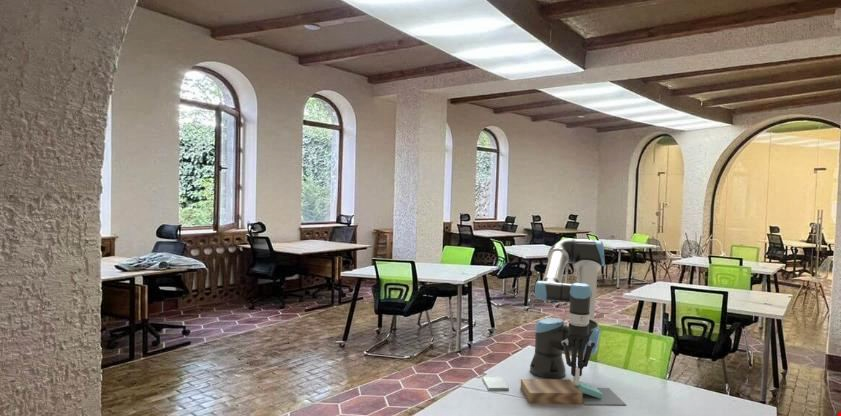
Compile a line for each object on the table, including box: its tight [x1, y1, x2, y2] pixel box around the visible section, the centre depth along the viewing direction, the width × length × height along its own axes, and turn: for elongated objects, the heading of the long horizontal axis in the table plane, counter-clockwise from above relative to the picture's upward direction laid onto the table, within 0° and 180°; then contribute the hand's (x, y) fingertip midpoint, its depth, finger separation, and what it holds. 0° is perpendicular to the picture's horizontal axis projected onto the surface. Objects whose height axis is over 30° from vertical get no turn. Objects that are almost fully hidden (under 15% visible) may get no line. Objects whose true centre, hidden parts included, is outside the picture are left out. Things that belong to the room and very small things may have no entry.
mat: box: [582, 387, 627, 406], centre depth 207 cm, size 16×16×1 cm
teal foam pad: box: [574, 381, 603, 399], centre depth 206 cm, size 9×6×2 cm, turn 93°
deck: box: [519, 378, 583, 405], centre depth 205 cm, size 20×14×4 cm
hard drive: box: [481, 376, 510, 392], centre depth 216 cm, size 2×8×12 cm
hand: (575, 383), depth 206 cm, fingers closed
